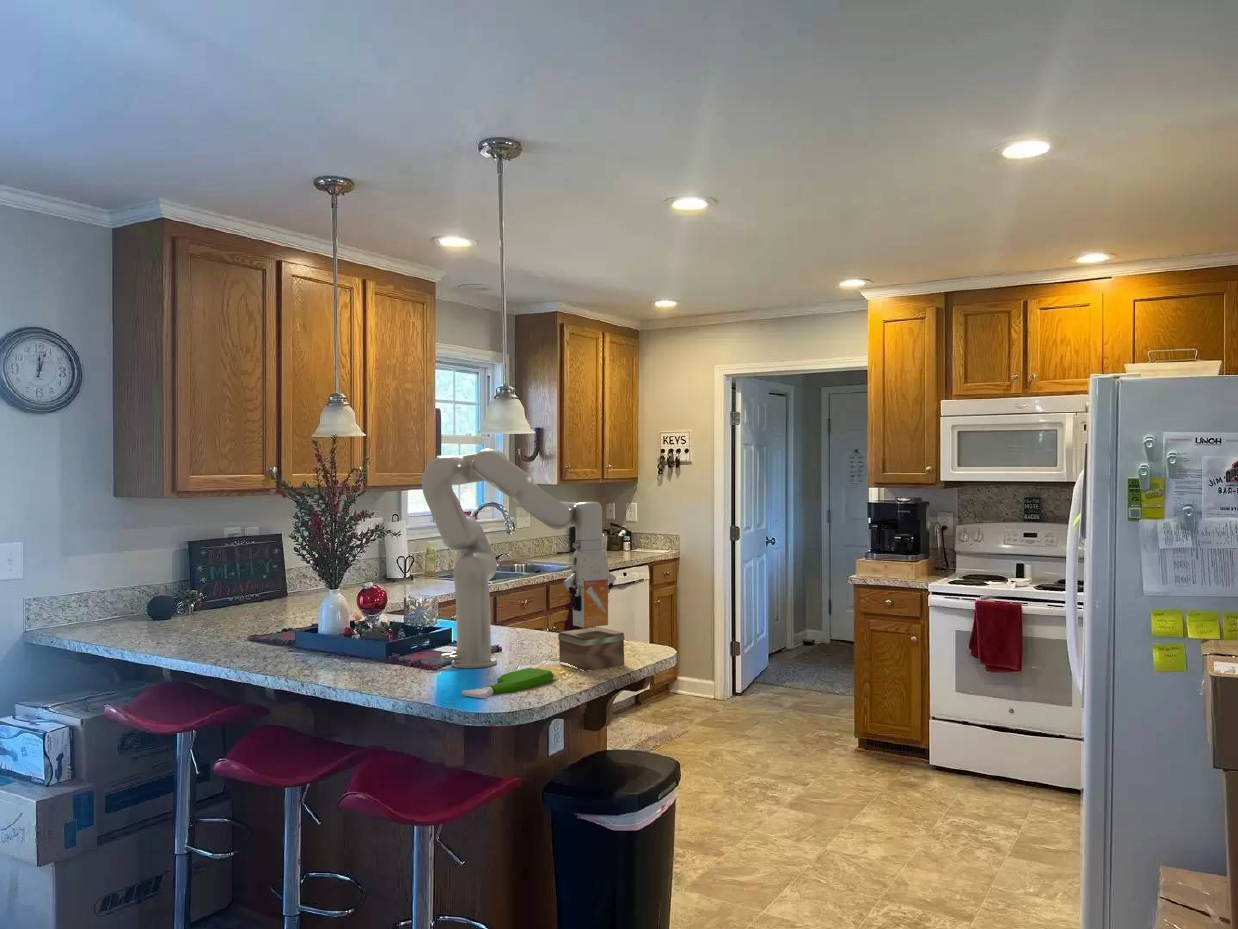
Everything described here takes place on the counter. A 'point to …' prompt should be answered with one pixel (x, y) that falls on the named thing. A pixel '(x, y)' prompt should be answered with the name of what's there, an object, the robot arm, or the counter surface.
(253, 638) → the counter surface
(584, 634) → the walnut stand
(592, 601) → the small box
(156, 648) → the counter surface
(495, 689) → the green and white oblong
